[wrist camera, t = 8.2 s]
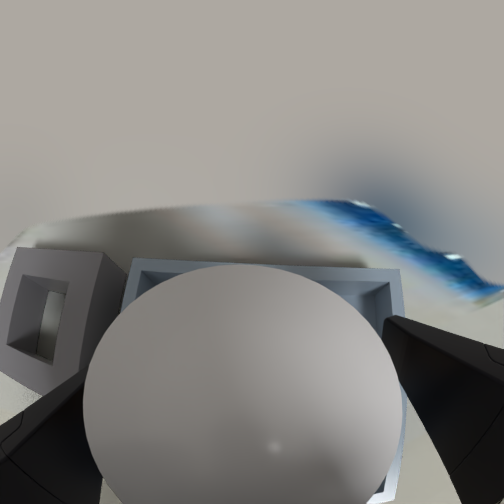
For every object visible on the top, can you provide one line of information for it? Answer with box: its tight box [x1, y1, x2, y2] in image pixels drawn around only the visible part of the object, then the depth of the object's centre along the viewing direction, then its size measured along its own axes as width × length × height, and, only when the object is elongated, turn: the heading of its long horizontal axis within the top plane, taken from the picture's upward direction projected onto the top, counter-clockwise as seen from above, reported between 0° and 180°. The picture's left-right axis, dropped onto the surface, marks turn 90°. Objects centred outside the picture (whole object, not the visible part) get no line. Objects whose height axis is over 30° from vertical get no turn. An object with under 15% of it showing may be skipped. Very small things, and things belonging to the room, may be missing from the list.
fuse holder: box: [0, 247, 127, 396], centre depth 15 cm, size 10×10×4 cm
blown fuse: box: [83, 264, 402, 504], centre depth 8 cm, size 4×4×13 cm
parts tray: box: [120, 257, 407, 504], centre depth 13 cm, size 16×14×3 cm
